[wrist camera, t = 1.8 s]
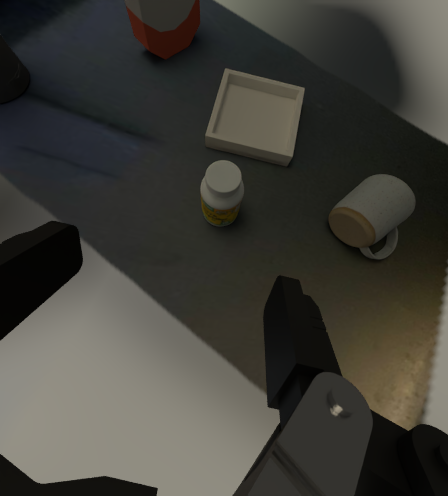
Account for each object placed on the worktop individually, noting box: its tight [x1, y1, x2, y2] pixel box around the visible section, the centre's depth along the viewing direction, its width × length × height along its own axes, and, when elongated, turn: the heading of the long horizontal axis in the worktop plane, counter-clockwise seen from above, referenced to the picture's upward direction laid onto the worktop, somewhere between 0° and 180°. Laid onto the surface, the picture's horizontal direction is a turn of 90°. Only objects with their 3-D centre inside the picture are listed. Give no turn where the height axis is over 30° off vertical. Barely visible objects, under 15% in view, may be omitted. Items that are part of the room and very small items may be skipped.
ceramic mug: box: [329, 174, 415, 259], centre depth 31 cm, size 11×8×8 cm
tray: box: [205, 68, 305, 167], centre depth 36 cm, size 14×14×2 cm
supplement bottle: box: [200, 160, 244, 226], centre depth 29 cm, size 5×5×10 cm
